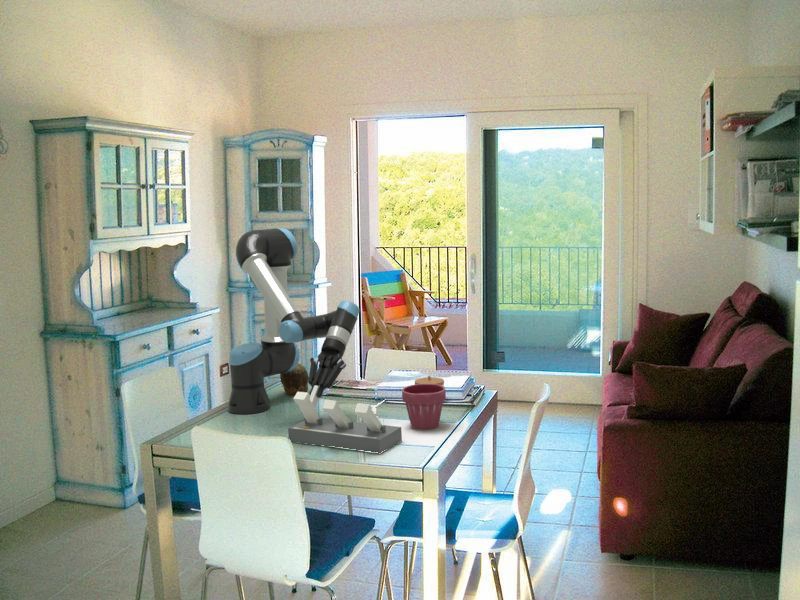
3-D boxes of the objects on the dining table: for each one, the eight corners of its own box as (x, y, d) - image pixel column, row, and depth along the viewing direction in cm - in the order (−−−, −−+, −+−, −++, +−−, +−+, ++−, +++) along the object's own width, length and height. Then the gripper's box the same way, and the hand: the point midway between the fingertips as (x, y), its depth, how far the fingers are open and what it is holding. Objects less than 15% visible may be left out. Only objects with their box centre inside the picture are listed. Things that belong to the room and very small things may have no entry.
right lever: (373, 424, 267) (357, 403, 259) (384, 425, 266) (369, 404, 257) (370, 432, 266) (354, 411, 257) (381, 434, 264) (366, 412, 255)
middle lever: (341, 420, 273) (325, 399, 264) (352, 421, 271) (336, 400, 262) (338, 428, 271) (321, 408, 262) (349, 430, 269) (333, 409, 261)
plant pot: (396, 430, 281) (395, 392, 280) (413, 418, 294) (411, 382, 292) (437, 434, 276) (436, 395, 274) (452, 422, 288) (451, 384, 287)
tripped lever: (311, 418, 278) (297, 391, 271) (321, 419, 276) (308, 392, 269) (307, 425, 276) (293, 398, 269) (317, 426, 274) (303, 399, 267)
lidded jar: (441, 396, 323) (440, 371, 322) (447, 403, 312) (446, 378, 311) (412, 398, 321) (412, 374, 320) (418, 405, 311) (417, 380, 309)
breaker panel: (313, 429, 285) (312, 410, 284) (401, 441, 270) (401, 420, 269) (288, 441, 273) (287, 421, 272) (380, 454, 257) (379, 432, 256)
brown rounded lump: (275, 394, 335) (273, 364, 333) (296, 389, 343) (295, 359, 341) (293, 398, 327) (291, 367, 326) (315, 392, 335) (313, 362, 334)
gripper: (357, 350, 285) (333, 413, 273) (323, 348, 291) (299, 409, 279) (348, 337, 280) (323, 401, 268) (314, 335, 286) (288, 397, 274)
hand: (311, 405), depth 274 cm, fingers closed
